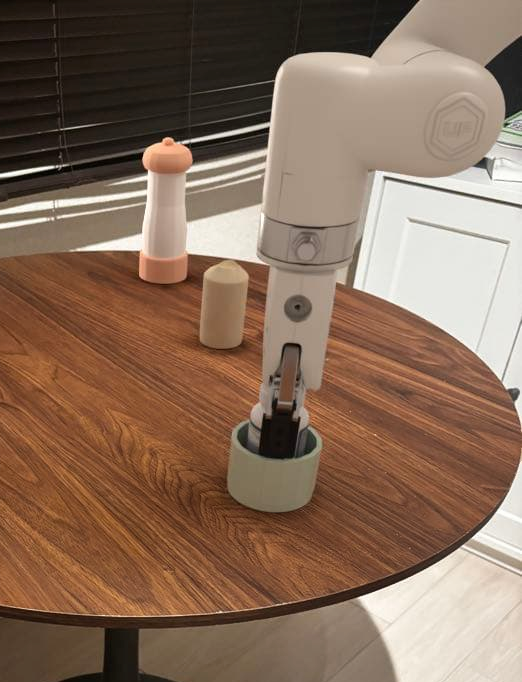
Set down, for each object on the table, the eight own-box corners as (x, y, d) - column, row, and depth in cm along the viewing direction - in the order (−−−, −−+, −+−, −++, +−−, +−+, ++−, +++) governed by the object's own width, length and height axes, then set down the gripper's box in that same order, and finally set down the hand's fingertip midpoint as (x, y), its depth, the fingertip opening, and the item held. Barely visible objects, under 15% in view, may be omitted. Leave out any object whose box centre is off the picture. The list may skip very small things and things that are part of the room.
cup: (313, 469, 80) (322, 421, 77) (312, 517, 74) (322, 466, 71) (230, 460, 82) (235, 412, 78) (222, 506, 75) (228, 456, 72)
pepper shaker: (143, 265, 127) (146, 131, 115) (189, 269, 126) (197, 133, 114) (135, 282, 121) (137, 142, 109) (183, 285, 120) (191, 145, 108)
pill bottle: (282, 453, 79) (295, 370, 74) (310, 480, 76) (326, 395, 70) (234, 463, 78) (243, 379, 72) (260, 491, 74) (272, 405, 69)
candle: (209, 328, 108) (215, 253, 101) (248, 337, 106) (256, 260, 99) (192, 344, 104) (197, 266, 98) (232, 352, 102) (240, 274, 96)
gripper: (359, 279, 56) (318, 494, 67) (352, 209, 69) (319, 399, 81) (250, 271, 57) (228, 484, 68) (264, 204, 71) (243, 392, 82)
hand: (277, 436), depth 74 cm, fingers closed on pill bottle, 5 cm apart
